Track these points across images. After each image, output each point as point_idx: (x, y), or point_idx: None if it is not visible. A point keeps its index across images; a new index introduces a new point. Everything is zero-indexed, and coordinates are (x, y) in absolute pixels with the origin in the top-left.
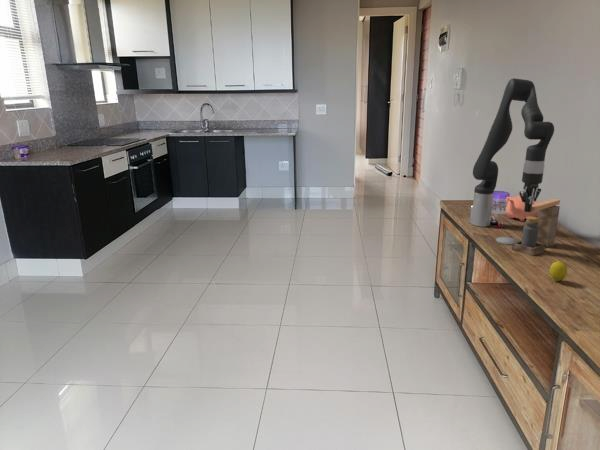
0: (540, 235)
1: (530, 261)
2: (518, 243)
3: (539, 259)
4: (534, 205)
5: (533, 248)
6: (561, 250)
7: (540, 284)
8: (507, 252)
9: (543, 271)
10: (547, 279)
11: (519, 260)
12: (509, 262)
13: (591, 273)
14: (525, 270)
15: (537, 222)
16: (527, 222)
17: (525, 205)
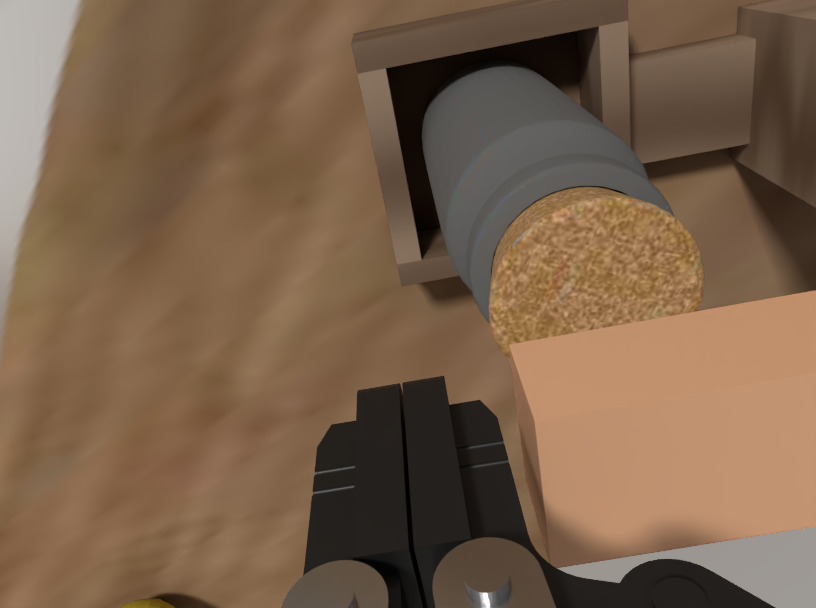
0: (802, 95)
1: (267, 338)
2: (444, 54)
3: (376, 337)
4: (738, 459)
5: (417, 273)
6: (755, 268)
7: (24, 598)
8: (242, 81)
9: (202, 492)
10: (123, 571)
11: (193, 287)
12: (70, 286)
13: None
14: (86, 440)
15: None
16: (472, 261)
17: (314, 544)
